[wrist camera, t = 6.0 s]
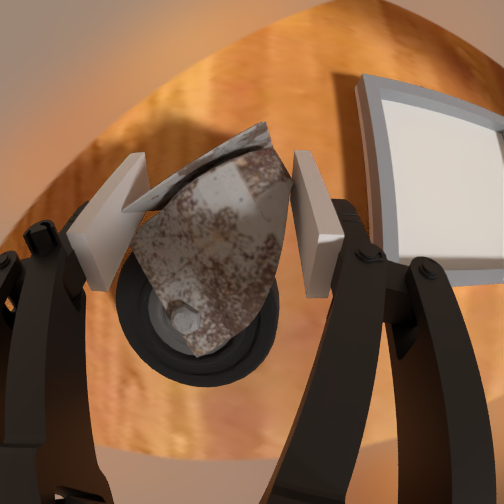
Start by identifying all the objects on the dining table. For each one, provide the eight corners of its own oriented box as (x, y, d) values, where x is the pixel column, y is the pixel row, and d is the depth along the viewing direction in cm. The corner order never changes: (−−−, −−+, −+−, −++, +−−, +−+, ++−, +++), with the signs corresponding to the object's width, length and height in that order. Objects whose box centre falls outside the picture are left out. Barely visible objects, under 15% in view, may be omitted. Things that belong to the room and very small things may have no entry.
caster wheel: (193, 366, 19) (118, 237, 18) (349, 294, 17) (269, 143, 16) (157, 427, 13) (49, 253, 12) (380, 343, 11) (257, 107, 10)
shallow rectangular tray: (501, 129, 18) (513, 121, 16) (522, 280, 17) (537, 280, 15) (354, 88, 18) (362, 73, 16) (369, 288, 17) (383, 289, 15)
